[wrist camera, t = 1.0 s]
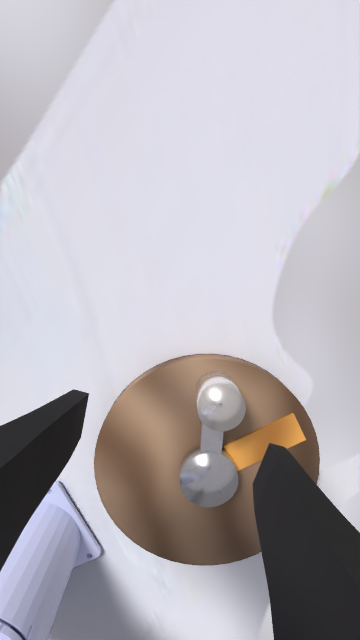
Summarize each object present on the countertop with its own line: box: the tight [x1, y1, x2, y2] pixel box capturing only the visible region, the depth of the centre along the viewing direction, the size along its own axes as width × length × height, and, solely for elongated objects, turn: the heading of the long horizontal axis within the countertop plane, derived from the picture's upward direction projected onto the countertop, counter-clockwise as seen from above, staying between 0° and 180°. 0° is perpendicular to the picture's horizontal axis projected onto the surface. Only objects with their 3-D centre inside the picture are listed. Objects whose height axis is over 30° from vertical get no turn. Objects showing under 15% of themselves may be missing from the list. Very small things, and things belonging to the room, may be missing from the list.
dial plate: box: [94, 354, 320, 565], centre depth 24 cm, size 18×18×2 cm
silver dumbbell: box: [180, 371, 246, 507], centre depth 21 cm, size 11×4×4 cm, turn 177°
